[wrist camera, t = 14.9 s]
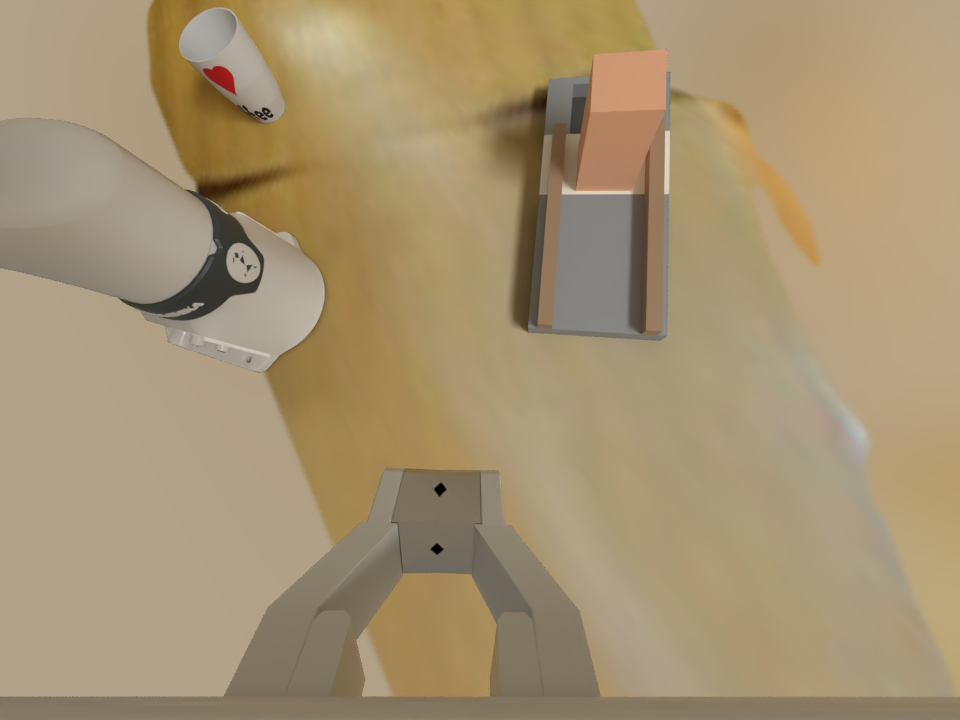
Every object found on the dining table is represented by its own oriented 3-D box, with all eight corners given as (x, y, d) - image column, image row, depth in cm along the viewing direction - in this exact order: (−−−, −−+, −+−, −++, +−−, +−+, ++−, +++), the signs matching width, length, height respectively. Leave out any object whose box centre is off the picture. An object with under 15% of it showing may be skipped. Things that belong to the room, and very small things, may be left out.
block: (575, 191, 38) (590, 112, 29) (578, 145, 40) (593, 54, 30) (631, 190, 38) (665, 109, 28) (632, 143, 39) (666, 49, 29)
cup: (236, 122, 51) (167, 52, 41) (265, 80, 52) (203, 0, 42) (275, 139, 49) (212, 69, 40) (304, 94, 50) (250, 15, 40)
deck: (528, 332, 38) (527, 323, 35) (548, 94, 44) (549, 66, 40) (660, 340, 36) (673, 331, 33) (663, 88, 41) (675, 58, 38)
